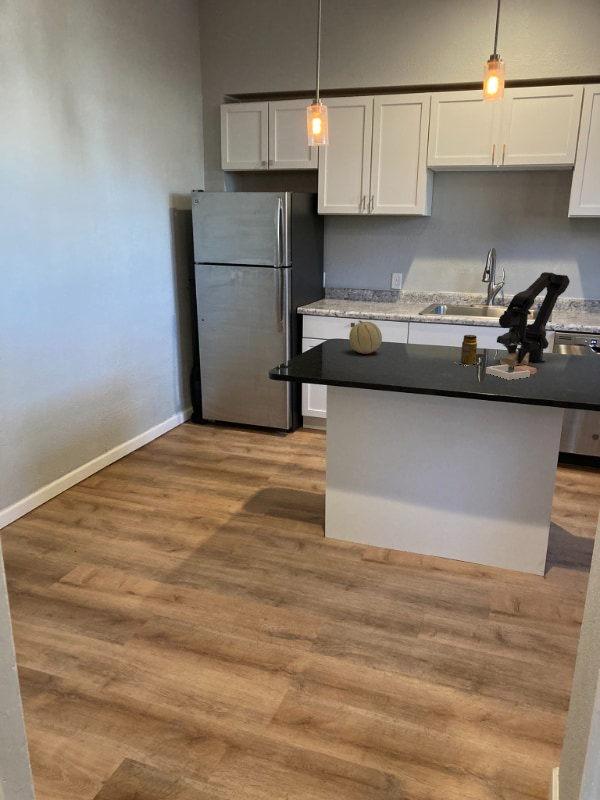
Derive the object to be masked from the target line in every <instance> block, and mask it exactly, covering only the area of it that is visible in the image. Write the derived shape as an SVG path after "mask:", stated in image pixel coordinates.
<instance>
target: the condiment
mask: <svg viewBox="0 0 600 800" xmlns="http://www.w3.org/2000/svg"><path fill="white" fill-rule="evenodd" d="M462 340H463V341H462V343H461V353H460V354H461V355H460V356H461V357H460V362H461V363H462V364H466V366H465V365H464V366H463V367H468V366H474V365H473V364H475V363H477V365H480V363H478V362H476V360H477V350H478V349H477V348H478V343H477V335H475V334H465V335H463V339H462ZM458 362H459V361H453V364H456V365H459V364H458Z"/></svg>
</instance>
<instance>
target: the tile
mask: <svg viewBox="0 0 600 800" xmlns="http://www.w3.org/2000/svg"><path fill="white" fill-rule="evenodd" d="M527 370H528V371H530V374H531V375H536V374H537V368H536V367H533V366H529V365H527V364H526V365H519V366H515V367H514V368H513V372H520V371H527ZM535 373H536V374H535Z"/></svg>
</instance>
